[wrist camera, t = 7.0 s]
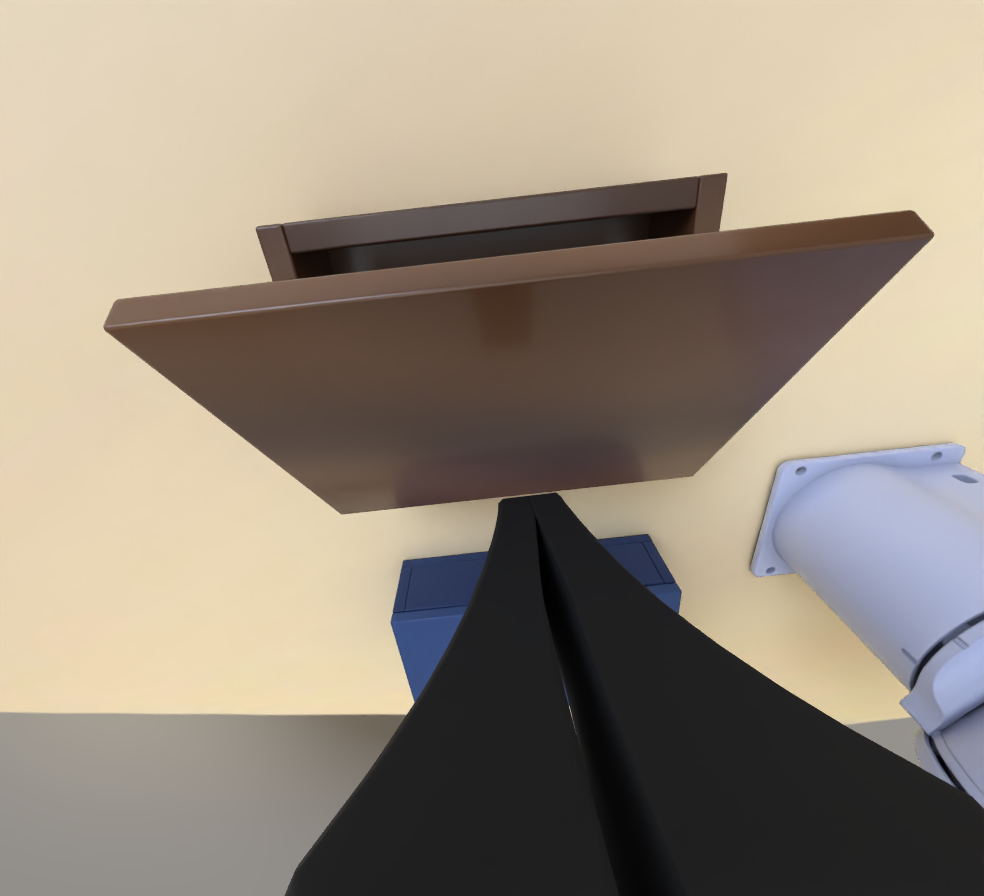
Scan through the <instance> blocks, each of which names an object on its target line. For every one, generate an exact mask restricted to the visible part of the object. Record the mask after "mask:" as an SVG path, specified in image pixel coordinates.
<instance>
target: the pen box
mask: <svg viewBox="0 0 984 896" xmlns="http://www.w3.org/2000/svg"><path fill="white" fill-rule="evenodd" d="M726 182H727V173H721V174H712V175H703V176H698V177H697V176H695V177H686V178H677V179H668V180H659V181H651V182H642V183H633V184H624V185H615V186H607V187H598V188H589V189H580V190H572V191H563V192H554V193H545V194H536V195H528V196H519V197H510V198H501V199H492V200H484V201H475V202H466V203H457V204H448V205H440V206H431V207H422V208H413V209H404V210H396V211H387V212H378V213H369V214H360V215H352V216H343V217H334V218H325V219H316V220H308V221H299V222H290V223H284V224H273V225H264V226H258V227H256V232H257V235H258V238H259V241H260V244H261V247H262V250H263V253H264V256H265V259H266V262H267V265H268V268H269V271H270V274H271V277H272V280H273V282H276V281H285V280H294V279H302V278H311V277H320V276H329V275H338V274H347V273H356V272H365V271H373V270H382V269H391V268H400V267H409V266H418V265H427V264H436V263H444V262H453V261H462V260H471V259H480V258H489V257H498V256H506V255H515V254H524V253H533V252H542V251H551V250H560V249H569V248H577V247H586V246H595V245H604V244H613V243H622V242H631V241H639V240H648V239H657V238H666V237H675V236H684V235H693V234H702V233H710V232H719V229H720V222H721V216H722V209H723V202H724V195H725V188H726Z"/></svg>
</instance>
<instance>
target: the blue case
mask: <svg viewBox="0 0 984 896" xmlns="http://www.w3.org/2000/svg"><path fill="white" fill-rule="evenodd" d="M598 541H599V542H600V543H601V544H602V545H603V546H604V547H605V548H606V549H607V550H608V551H609V552H610V554H611V555H612V556H613V557H614V558H615V559H616V560H617V561H619V562H620V563H621V564H622V565H623V566H624V567H625V568H626V569H627V570H628V571H629V572H630V573H631V574H632V575H633V576H634V577H636V578H637V579H638V580H639V581H640V582H641V583H642V584H643V585H644V586H654V585H663V584H672V583H675V580H674V578H673V576H672V574H671V573H670V571H669V569H668V568H667V566H666V564H665V563H664V561H663V559H662V557H661V556H660V554H659V552H658V551H657V549H656V547H655V545H654V544H653V542H652V540H651V538H650V537H649V535H648V534H646V535H636V536H627V537H618V538H609V539H599V540H598ZM487 555H488V552H479V553H470V554H461V555H451V556H442V557H433V558H424V559H414V560H405V561H403V565H402V569H401V574H400V579H399V584H398V589H397V594H396V599H395V603H394V608H393V613H402V612H411V611H421V610H430V609H439V608H449V607H458V606H467V605H468V604H469V602H470V599H471V597H472V594H473V592H474V589H475V587H476V585H477V582H478V580H479V577H480V575H481V572H482V570H483V567H484V564H485V561H486V558H487Z"/></svg>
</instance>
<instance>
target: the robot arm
mask: <svg viewBox="0 0 984 896" xmlns="http://www.w3.org/2000/svg"><path fill="white" fill-rule="evenodd" d="M964 453H965V447H963V446H962V445H959V444H957V443H947V444H938V445H929V446H920V447H910V448H901V449H892V450H883V451H874V452H864V453H855V454H846V455H837V456H828V457H819V458H809V459H800V460H791V461H786V462H784V463H782V464H781V465H780V466H779V467H778V469H777V473H776V476H775V480H774V484H773V487H772V491H771V494H770V498H769V502H768V505H767V509H766V513H765V516H764V520H763V523H762V527H761V531H760V534H759V538H758V542H757V545H756V549H755V552H754V556H753V560H752V563H751V567H750V570H751V572H752V573H753V574H754V576H757V577H762V576H772V575H781V574H790V573H797V574H798V575H799V576H800V577H801V578H802V579H803V580H804V581H805V583H806V584H807V585H808V586H809V587H810V588H811V589H812V590H813V591H814V592H815V593H816V594H817V595H818V596H819V597H820V598H821V599H822V600H823V601H824V602H825V603H826V605H827V606H828V607H829V608H830V609H831V610H832V611H833V612H834V613H835V614H836V615H837V616H838V617H839V618H840V619H841V620H842V621H843V622H844V623H845V624H846V625H847V627H848V628H849V629H850V630H851V631H852V632H853V633H854V634H855V635H856V636H857V637H858V638H859V639H860V640H861V641H862V642H863V643H864V644H865V645H866V646H867V648H868V649H869V650H870V651H871V652H872V653H873V654H874V655H875V656H876V657H877V658H878V659H879V660H880V661H881V662H882V663H883V664H884V665H885V666H886V667H887V668H888V670H889V671H890V672H891V673H892V674H893V675H894V676H895V677H896V678H897V679H898V680H899V681H900V682H901V683H902V684H903V685H904V686H905V687H906V688H907V689H908V690H909V692H910V693H909V694H908V695H907V696H906V697H904V698H903V699H902V700H901V701H900V704H901V705H902V707H903V708H904V709H905V710H906V711H907V712H908V713H909V714H910V715H911V716H912V718H913V719H914V720H915V721H916V722H917V723H918V724H919V725H920V726H921V728H919V729H918V730H917V731H916V732H915V733H914V738H913V742H914V748H915V751H916V754H917V756H918V759H919V761H920V765H921V768H920V767H918V766H916V765H915V764H913V763H911V762H909V761H907V760H906V759H904V758H902V757H900V756H898V755H896V754H894V753H893V752H891V751H889V750H888V749H886V748H884V747H882V746H880V745H878V744H877V743H875V742H873V741H871V740H869V739H868V738H866V737H864V736H862V735H860V734H859V733H857V732H855V731H853V730H852V729H850V728H848V727H846V726H845V725H843V724H841V723H840V722H838V721H836V720H835V719H833V718H831V717H830V716H828V715H826V714H825V713H823V712H822V711H820V710H818V709H817V708H815V707H813V706H812V705H810V704H808V703H807V702H805V701H804V700H802V699H800V698H799V697H797V696H795V695H794V694H792V693H790V692H789V691H787V690H786V689H784V688H782V687H781V686H779V685H778V684H776V683H775V682H773V681H772V680H770V679H769V678H767V677H766V676H765V675H763V674H762V673H760V672H759V671H757V670H756V669H754V668H753V667H751V666H750V665H748V664H747V663H745V662H744V661H742V660H741V659H739V658H738V657H736V656H735V655H733V654H732V653H730V652H729V651H727V650H726V649H725V648H723V647H722V646H720V645H719V644H717V643H716V642H715V641H713V640H712V639H711V638H709V637H708V636H706V635H705V634H704V633H702V632H701V631H700V630H698V629H697V628H696V627H694V626H693V625H692V624H690V623H689V622H688V621H687V620H685V619H684V618H683V617H682V616H680V615H679V614H678V613H677V612H675V611H674V610H673V609H671V608H670V607H669V606H668V605H666V604H665V603H664V602H663V601H662V600H660V599H659V598H658V597H657V596H656V595H655V594H653V593H652V592H651V591H650V590H649V589H648V588H647V587H645V586H644V585H643V584H642V583H641V582H640V581H639V580H638V579H637V578H636V577H634V576H633V575H632V574H631V573H630V572H629V571H628V570H627V569H626V568H625V567H624V566H623V565H622V564H621V563H620V562H619V561H617V560H616V559H615V558H614V557H613V556H612V555H611V554H610V552H609V551H608V550H607V549H606V548H605V547H604V546H603V545H602V544H601V543H600V542H599V541H598V540H597V539H596V538H595V537H594V536H593V535H592V534H591V533H590V531H589V530H588V529H587V528H586V527H585V526H584V525H583V524H582V522H581V521H580V520H579V519H578V518H577V517H576V515H575V514H574V513H573V512H572V510H571V509H570V508H569V507H568V505H567V504H566V503H565V502H564V500H563V499H562V497H561V496H560V495H558V494H557V493H549V494H540V495H532V496H523V497H515V498H506V499H502V500H501V501H500V502H499V503H498V516H497V522H496V527H495V531H494V535H493V539H492V542H491V545H490V548H489V551H488V555H487V558H486V561H485V564H484V567H483V570H482V572H481V575H480V577H479V580H478V582H477V585H476V587H475V589H474V592H473V594H472V597H471V599H470V602H469V604H468V606H467V608H466V610H465V613H464V615H463V617H462V619H461V621H460V623H459V625H458V627H457V629H456V631H455V633H454V635H453V637H452V639H451V641H450V643H449V645H448V647H447V649H446V650H445V652H444V654H443V656H442V657H441V659H440V661H439V663H438V664H437V666H436V668H435V670H434V672H433V673H432V675H431V677H430V679H429V680H428V682H427V684H426V685H425V687H424V689H423V690H422V692H421V694H420V695H419V697H418V698H417V700H416V702H415V703H414V705H413V706H412V708H411V709H410V711H409V712H408V714H407V715H406V717H405V719H404V720H403V721H402V723H401V724H400V726H399V727H398V729H397V731H396V732H395V733H394V735H393V737H392V738H391V740H390V741H389V743H388V744H387V746H386V747H385V748H384V750H383V752H382V753H381V754H380V756H379V757H378V759H377V760H376V762H375V763H374V765H373V766H372V767H371V769H370V770H369V772H368V773H367V774H366V776H365V777H364V779H363V780H362V781H361V783H360V784H359V785H358V787H357V788H356V789H355V791H354V792H353V793H352V795H351V796H350V798H349V799H348V800H347V801H346V803H345V804H344V805H343V807H342V808H341V809H340V811H339V812H338V813H337V815H336V816H335V817H334V819H333V820H332V821H331V823H330V824H329V825H328V826H327V828H326V829H325V830H324V832H323V833H322V835H321V836H320V837H319V838H318V840H317V841H316V842H315V844H314V845H313V847H312V848H311V849H310V850H309V852H308V853H307V854H306V856H305V857H304V858H303V860H302V861H301V862H300V864H299V865H298V867H297V868H296V870H295V872H294V875H293V877H292V879H291V882H290V884H289V886H288V889H287V891H286V894H285V896H984V475H983V474H981V473H979V472H977V471H975V470H973V469H971V468H968V467H966V466H964V465H962V464H960V461H961V459H962V457H963V455H964ZM799 468H800V469H799ZM797 469H799V470H797ZM563 683H564V685H563ZM564 687H565V689H564ZM565 690H566V693H565ZM566 694H567V697H568V701H569V705H570V709H571V712H570V709H569V705H568V701H567V697H566ZM571 713H572V716H571ZM572 717H573V720H572ZM573 721H574V724H573ZM574 726H575V728H574ZM575 731H576V732H575Z"/></svg>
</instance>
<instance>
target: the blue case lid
mask: <svg viewBox="0 0 984 896" xmlns="http://www.w3.org/2000/svg"><path fill="white" fill-rule="evenodd" d="M645 587H647V588H648V589H649V590H650V591H651V592H652V593H653V594H655V595H656V596H657V597H658V598H659V599H660V600H662V601H663V602H664V603H665V604H666V605H668V606H669V607H670V608H671V609H673V610H674V611H675V612H677V613H679V606H680V599H681V593H682V592H681V590H680V588H679V586H678V585H677V584H676V583H672V584H663V585H654V586H645ZM467 606H468V605H467ZM467 606H458V607H449V608H439V609H430V610H421V611H411V612H402V613H393V614H392V619H391V626H392V629H393V632H394V635H395V639H396V642H397V645H398V649H399V652H400V655H401V659H402V662H403V665H404V669H405V672H406V675H407V679H408V682H409V685H410V688H411V692H412V695H413V698H414V702H416V700H417V698H418V697H419V695H420V694H421V692H422V690H423V689H424V687H425V685H426V684H427V682H428V680H429V679H430V677H431V675H432V673H433V672H434V670H435V668H436V666H437V664H438V663H439V661H440V659H441V657H442V656H443V654H444V652H445V650H446V649H447V647H448V645H449V643H450V641H451V639H452V637H453V635H454V633H455V631H456V629H457V627H458V625H459V623H460V621H461V619H462V617H463V615H464V613H465V610H466V608H467ZM563 685H564V683H563ZM564 689H565V687H564ZM565 693H566V690H565ZM566 697H567V694H566ZM567 701H568V697H567ZM568 705H569V701H568Z"/></svg>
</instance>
